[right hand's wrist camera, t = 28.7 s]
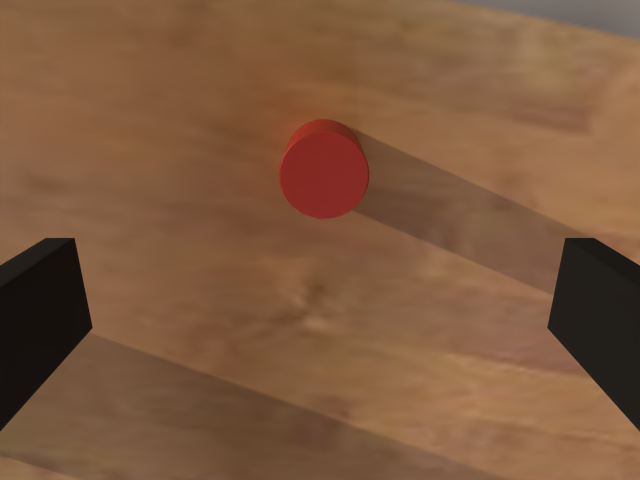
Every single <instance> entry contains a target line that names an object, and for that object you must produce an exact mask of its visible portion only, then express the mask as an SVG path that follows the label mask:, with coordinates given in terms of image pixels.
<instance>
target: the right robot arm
mask: <svg viewBox="0 0 640 480" xmlns="http://www.w3.org/2000/svg"><path fill="white" fill-rule="evenodd" d="M92 328H93V327H92V322H91V317H90V313H89V308H88V303H87V298H86V293H85V288H84V283H83V278H82V273H81V268H80V263H79V258H78V253H77V248H76V243H75V238H45V239H43V240H42V241H40V242H39V243H37V244H35V245H34V246H32V247H30V248H29V249H27V250H25V251H24V252H22V253H20V254H19V255H17V256H15V257H14V258H12V259H10V260H9V261H7V262H5V263H4V264H2V265H0V431H1V430H2V429H3V428H4V427H5V425H6V424H7V423H8V422H9V421H10V420H11V419H12V418H13V417H14V415H15V414H16V413H17V412H18V411H19V410H20V409H21V408H22V406H23V405H24V404H25V403H26V402H27V401H28V400H29V399H30V397H31V396H32V395H33V394H34V393H35V392H36V391H37V390H38V388H39V387H40V386H41V385H42V384H43V383H44V382H45V381H46V379H47V378H48V377H49V376H50V375H51V374H52V373H53V372H54V371H55V369H56V368H57V367H58V366H59V365H60V364H61V363H62V362H63V360H64V359H65V358H66V357H67V356H68V355H69V354H70V353H71V351H72V350H73V349H74V348H75V347H76V346H77V345H78V344H79V342H80V341H81V340H82V339H83V338H84V337H85V336H86V335H87V333H88V332H89V331H90V330H91V329H92ZM547 328H548V329H549V330H550V331H551V332H552V333H553V335H554V336H555V337H556V338H557V339H558V340H559V341H560V342H561V344H562V345H563V346H564V347H565V348H566V349H567V350H568V351H569V353H570V354H571V355H572V356H573V357H574V358H575V359H576V360H577V362H578V363H579V364H580V365H581V366H582V367H583V368H584V369H585V371H586V372H587V373H588V374H589V375H590V376H591V377H592V378H593V379H594V381H595V382H596V383H597V384H598V385H599V386H600V387H601V388H602V390H603V391H604V392H605V393H606V394H607V395H608V396H609V397H610V399H611V400H612V401H613V402H614V403H615V404H616V405H617V406H618V408H619V409H620V410H621V411H622V412H623V413H624V414H625V415H626V417H627V418H628V419H629V420H630V421H631V422H632V423H633V424H634V425H635V427H636V428H637V429H638V430H639V431H640V265H638V264H636V263H635V262H633V261H631V260H630V259H628V258H626V257H625V256H623V255H621V254H620V253H618V252H616V251H615V250H613V249H611V248H610V247H608V246H606V245H605V244H603V243H601V242H600V241H598V240H597V239H595V238H565V243H564V248H563V253H562V258H561V263H560V268H559V273H558V278H557V283H556V288H555V293H554V298H553V303H552V308H551V313H550V317H549V322H548V327H547Z"/></svg>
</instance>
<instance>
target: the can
mask: <svg viewBox="0 0 640 480" xmlns="http://www.w3.org/2000/svg"><path fill="white" fill-rule="evenodd" d="M279 181H280V186H281V189H282V192H283V194H284V196H285V197H286V199H287V200H288V202H289V203H290V204H291V205H292V206H293V207H294V208H295V209H296V210H298V211H299V212H301V213H303V214H305V215H307V216H310V217H313V218H319V219H329V218H335V217H338V216H341V215H343V214H345V213H347V212H349V211H350V210H352V209H353V208H354V207H355V206H356V205H357V204H358V203H359V202H360V200H361V199H362V197H363V196H364V194H365V192H366V189H367V186H368V181H369V168H368V163H367V160H366V158H365V155H364V153H363V151H362V148H361V146H360V144H359V141H358V139H357V138H356V136H355V135H354V134H353V132H352V131H351V130H350V129H349V128H347V127H346V126H344V125H343V124H341V123H338V122H336V121H332V120H316V121H312V122H309V123H307V124H305V125H304V126H302V127H301V128H300V129H298V130H297V131H296V132H295V134H294V135H293V136H292V138H291V139H290V141H289V143H288V146H287V148H286V151H285V153H284V155H283V158H282V161H281V164H280V169H279Z"/></svg>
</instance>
